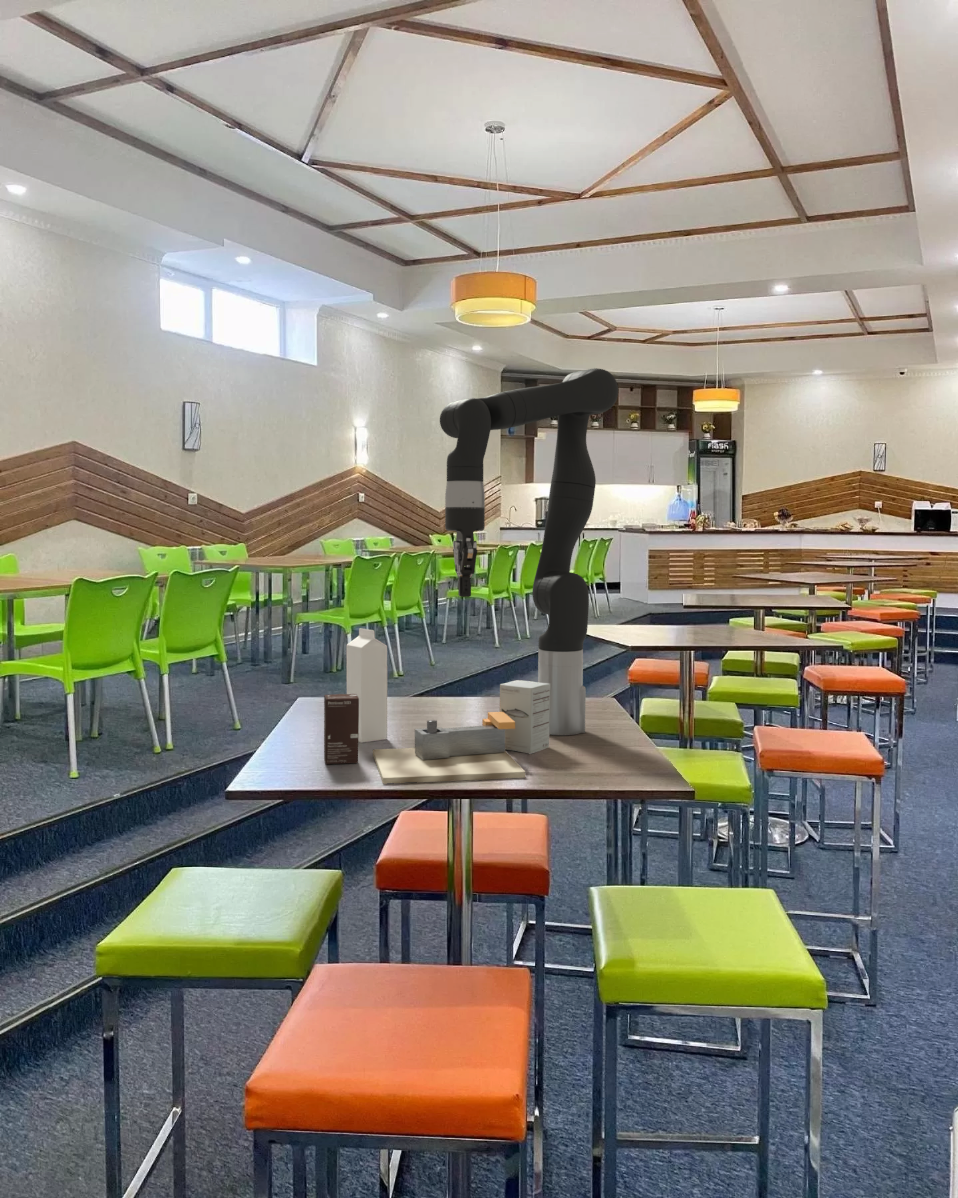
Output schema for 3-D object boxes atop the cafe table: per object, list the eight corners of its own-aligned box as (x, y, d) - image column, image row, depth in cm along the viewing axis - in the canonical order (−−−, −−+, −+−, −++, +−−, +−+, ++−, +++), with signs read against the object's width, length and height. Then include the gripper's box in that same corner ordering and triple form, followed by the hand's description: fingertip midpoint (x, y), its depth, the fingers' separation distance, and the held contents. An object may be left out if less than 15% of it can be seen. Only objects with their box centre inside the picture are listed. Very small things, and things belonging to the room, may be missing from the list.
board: (499, 749, 182) (499, 744, 181) (525, 777, 161) (525, 771, 161) (372, 754, 177) (372, 749, 177) (383, 784, 156) (383, 778, 156)
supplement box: (497, 749, 182) (497, 683, 181) (518, 742, 188) (518, 679, 187) (530, 754, 178) (531, 687, 177) (550, 747, 184) (551, 682, 183)
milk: (361, 743, 187) (360, 631, 185) (346, 738, 192) (345, 628, 190) (388, 739, 191) (387, 629, 189) (372, 734, 196) (371, 627, 194)
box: (325, 765, 169) (325, 698, 168) (323, 760, 173) (323, 694, 172) (359, 764, 170) (359, 697, 169) (357, 758, 174) (356, 693, 173)
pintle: (442, 758, 174) (442, 718, 174) (445, 764, 170) (445, 722, 169) (418, 759, 173) (418, 719, 173) (421, 765, 169) (421, 723, 168)
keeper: (503, 751, 181) (503, 711, 180) (514, 763, 171) (515, 722, 170) (482, 751, 180) (482, 712, 179) (493, 764, 170) (493, 722, 170)
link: (422, 759, 168) (422, 734, 168) (414, 753, 173) (414, 729, 173) (507, 753, 174) (507, 728, 173) (497, 747, 178) (497, 723, 178)
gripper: (491, 505, 176) (490, 598, 177) (477, 506, 189) (477, 594, 190) (451, 504, 174) (450, 599, 176) (440, 506, 187) (440, 594, 189)
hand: (464, 596), depth 183 cm, fingers closed
